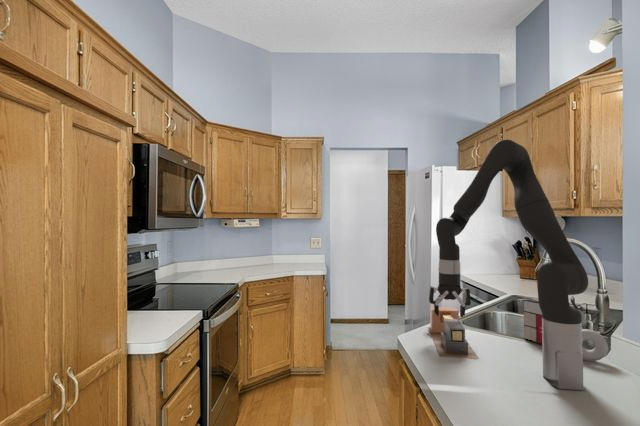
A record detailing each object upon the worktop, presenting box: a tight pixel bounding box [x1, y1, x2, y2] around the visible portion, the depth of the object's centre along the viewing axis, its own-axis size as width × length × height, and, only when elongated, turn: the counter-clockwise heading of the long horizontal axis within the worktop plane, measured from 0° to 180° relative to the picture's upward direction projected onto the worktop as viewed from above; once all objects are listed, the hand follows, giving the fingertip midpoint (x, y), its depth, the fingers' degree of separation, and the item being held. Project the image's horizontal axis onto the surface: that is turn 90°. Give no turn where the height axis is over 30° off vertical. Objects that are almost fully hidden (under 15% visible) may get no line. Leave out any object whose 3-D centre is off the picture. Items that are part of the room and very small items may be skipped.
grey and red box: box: [523, 298, 542, 345], centre depth 134 cm, size 11×4×15 cm, turn 25°
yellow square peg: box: [443, 315, 462, 341], centre depth 129 cm, size 20×3×3 cm, turn 170°
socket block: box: [429, 306, 460, 333], centre depth 144 cm, size 5×10×9 cm, turn 80°
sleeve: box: [441, 319, 469, 354], centre depth 125 cm, size 12×7×8 cm, turn 170°
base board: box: [427, 326, 480, 360], centre depth 132 cm, size 33×12×1 cm, turn 170°
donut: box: [582, 328, 609, 362], centre depth 116 cm, size 10×4×10 cm, turn 56°
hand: (449, 315), depth 133 cm, fingers open, 8 cm apart
